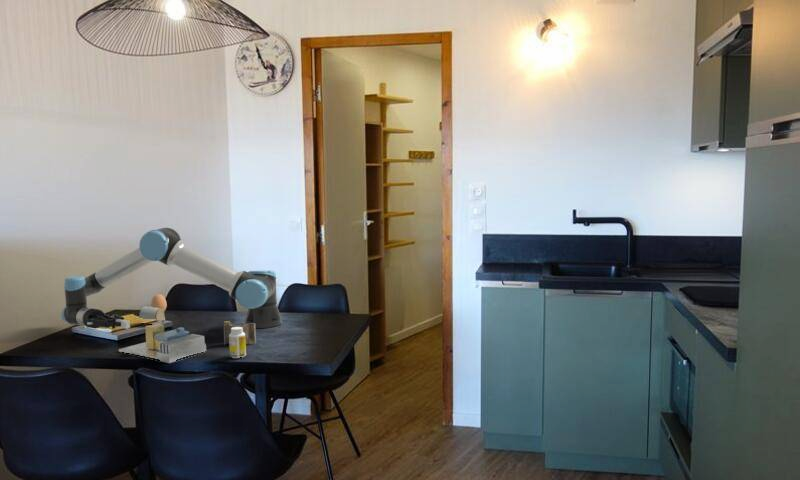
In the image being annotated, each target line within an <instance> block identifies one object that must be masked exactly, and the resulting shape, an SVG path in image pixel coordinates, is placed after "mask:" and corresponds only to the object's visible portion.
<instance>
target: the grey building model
mask: <svg viewBox="0 0 800 480" xmlns="http://www.w3.org/2000/svg"><path fill="white" fill-rule="evenodd" d="M154 337H155V339H158V340H163V341H166V342H162V343H159V350H157V349H149V348H146V341H145V342H141V343H137V344H134V345H133V344H132V345H130V346H126V347H122V348H118V352H119V353H122V352H124V353H123V354H126V353H130V354H129V355H131V354H135V355H140V356H145V357H150V358H155V359H159V360H160V361H159V362H163V363H167V364H172V363H174V362H177V361H176V360H177V359H180V358H183V357H186V356H189V355H193V354H197V353H201V352H204V353H206V352H207V344H206V341H205V335H202V334H201V335H200V334H195V333H192V334H190V331H188V330H185V327H181V326H180V327H176V329H171V330H166V331H164V332H163V333H159V334H155V335H154ZM205 351H206V352H205ZM201 354H202V353H201ZM135 355H134V356H135ZM140 356H139V357H140Z"/></svg>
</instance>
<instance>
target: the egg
mask: <svg viewBox="0 0 800 480" xmlns="http://www.w3.org/2000/svg"><path fill="white" fill-rule="evenodd" d="M150 303H151V304H150V307H154V308H160V309H162V310H163V311H164V312H165V311H166V309H167V307H168V305H167V300H166V297H164V295H162V294H160V293H157V294H155V295H154V296H153V298H152V300H151V302H150Z"/></svg>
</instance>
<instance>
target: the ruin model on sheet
mask: <svg viewBox="0 0 800 480" xmlns="http://www.w3.org/2000/svg"><path fill="white" fill-rule="evenodd" d="M223 323H224V325H223V342H224V346H226V345H227V344H229V334H230V333H231V328H233V327H242V328H243V332H244V333H245V339H246V345H255V344H256V343H257V336H256V335H257V334H256V333H257V332H256V329H257V328H255V323H250V324H245V323H231V321H230V320H227V321H224V320H223ZM225 344H226V345H225Z"/></svg>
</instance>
